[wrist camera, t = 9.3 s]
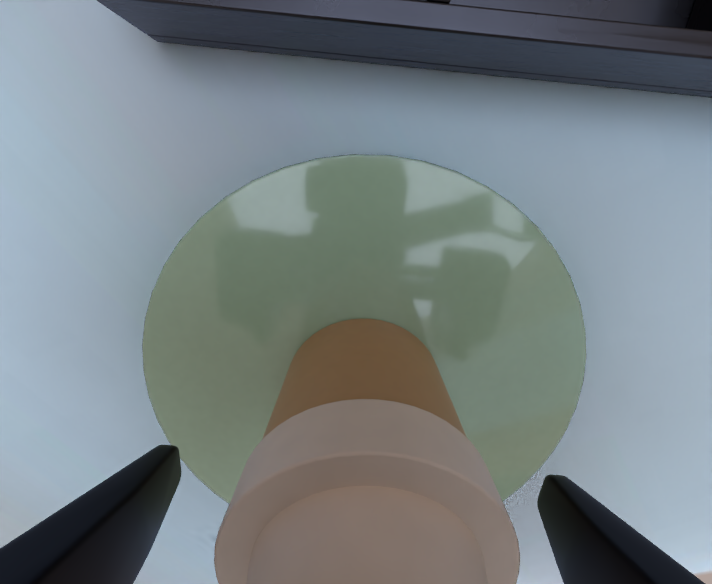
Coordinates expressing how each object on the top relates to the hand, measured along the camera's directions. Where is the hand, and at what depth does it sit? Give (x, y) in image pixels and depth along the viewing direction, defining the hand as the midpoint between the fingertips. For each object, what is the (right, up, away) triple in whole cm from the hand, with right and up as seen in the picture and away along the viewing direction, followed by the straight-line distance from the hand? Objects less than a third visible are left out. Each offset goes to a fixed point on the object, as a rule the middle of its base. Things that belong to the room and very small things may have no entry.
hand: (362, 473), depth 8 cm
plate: (0, +1, +4) cm, 4 cm away
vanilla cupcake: (0, +1, +3) cm, 4 cm away
